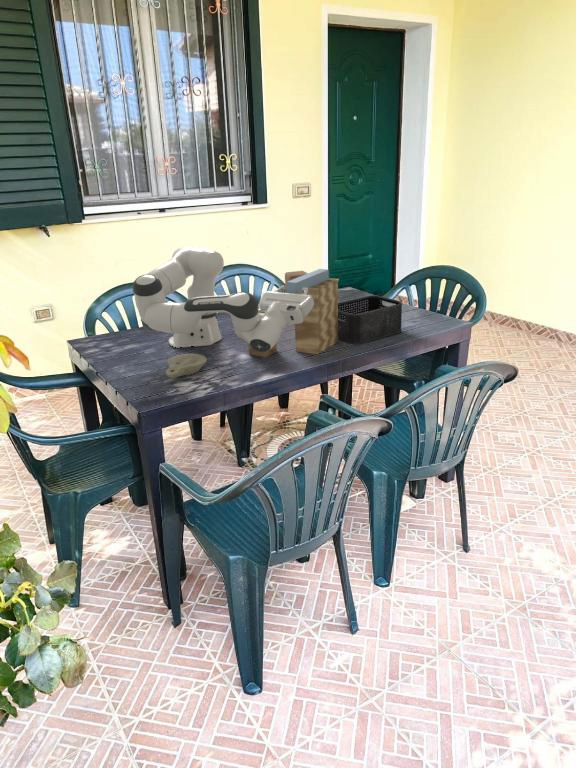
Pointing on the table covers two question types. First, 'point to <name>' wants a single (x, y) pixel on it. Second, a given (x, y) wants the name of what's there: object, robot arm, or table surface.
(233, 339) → the table surface
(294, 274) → the block
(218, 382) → the table surface
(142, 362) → the table surface
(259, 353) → the walnut block
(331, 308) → the oak stand
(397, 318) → the storage bin
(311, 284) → the blue bar
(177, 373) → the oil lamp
